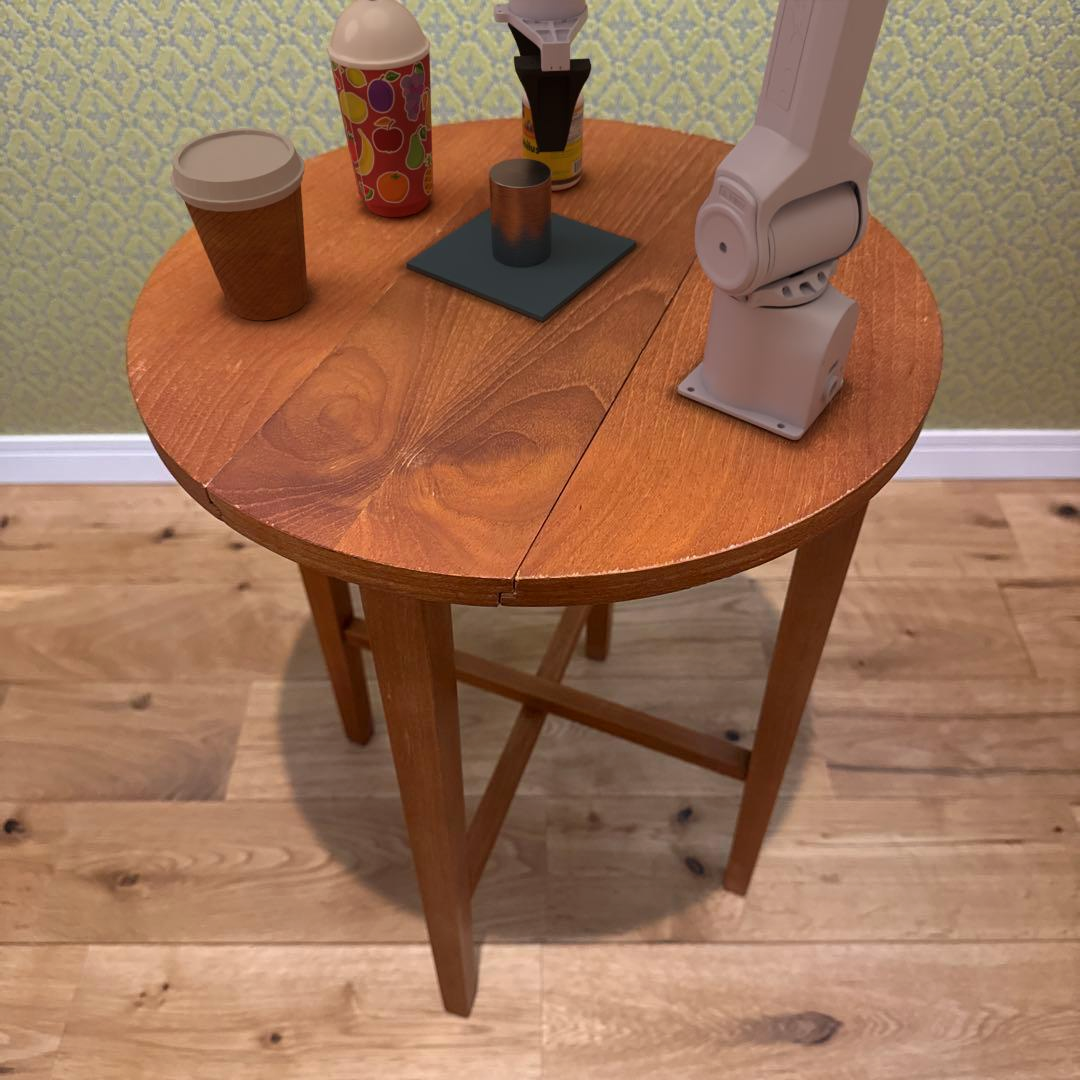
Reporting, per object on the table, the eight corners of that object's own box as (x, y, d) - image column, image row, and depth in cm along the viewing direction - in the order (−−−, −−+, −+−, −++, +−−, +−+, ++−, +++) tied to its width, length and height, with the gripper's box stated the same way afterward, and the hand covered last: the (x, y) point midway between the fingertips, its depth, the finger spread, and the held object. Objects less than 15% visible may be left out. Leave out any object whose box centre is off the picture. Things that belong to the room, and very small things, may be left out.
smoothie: (393, 173, 93) (365, -64, 79) (461, 197, 90) (444, -46, 75) (332, 208, 88) (290, -37, 74) (401, 235, 85) (371, -17, 71)
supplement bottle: (516, 170, 93) (513, 59, 86) (570, 162, 95) (572, 52, 87) (532, 197, 90) (531, 83, 82) (589, 188, 91) (593, 75, 83)
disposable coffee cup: (184, 301, 78) (139, 155, 69) (281, 255, 83) (250, 114, 74) (255, 348, 74) (216, 199, 65) (352, 297, 78) (328, 151, 70)
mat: (636, 246, 84) (636, 241, 83) (542, 322, 76) (542, 316, 75) (506, 201, 89) (506, 196, 89) (406, 267, 81) (406, 262, 81)
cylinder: (562, 248, 82) (563, 168, 77) (528, 273, 80) (527, 193, 75) (515, 231, 84) (513, 152, 79) (480, 255, 82) (475, 176, 77)
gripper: (487, -87, 74) (493, 94, 84) (496, -26, 64) (503, 172, 74) (578, -90, 74) (574, 91, 84) (602, -29, 65) (594, 168, 74)
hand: (547, 129), depth 79 cm, fingers open, 7 cm apart
